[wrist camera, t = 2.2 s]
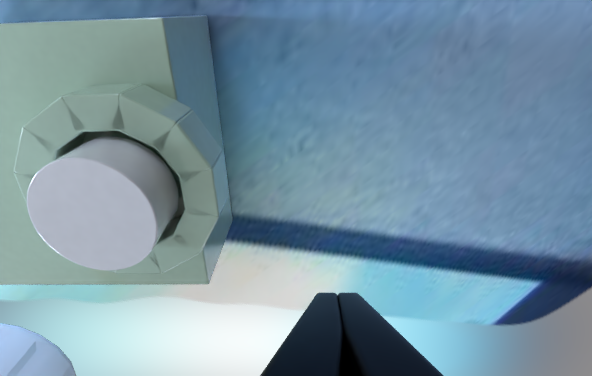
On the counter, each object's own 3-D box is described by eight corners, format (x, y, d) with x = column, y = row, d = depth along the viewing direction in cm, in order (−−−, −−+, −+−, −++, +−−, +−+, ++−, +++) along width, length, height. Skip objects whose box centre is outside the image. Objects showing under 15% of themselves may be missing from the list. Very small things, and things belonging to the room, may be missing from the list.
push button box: (238, 13, 17) (190, 16, 10) (257, 219, 22) (233, 314, 15) (-1, 22, 18) (-196, 31, 11) (69, 222, 22) (-36, 314, 16)
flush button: (167, 134, 12) (142, 156, 10) (187, 236, 14) (168, 270, 12) (50, 137, 12) (5, 159, 11) (84, 237, 14) (50, 271, 12)
